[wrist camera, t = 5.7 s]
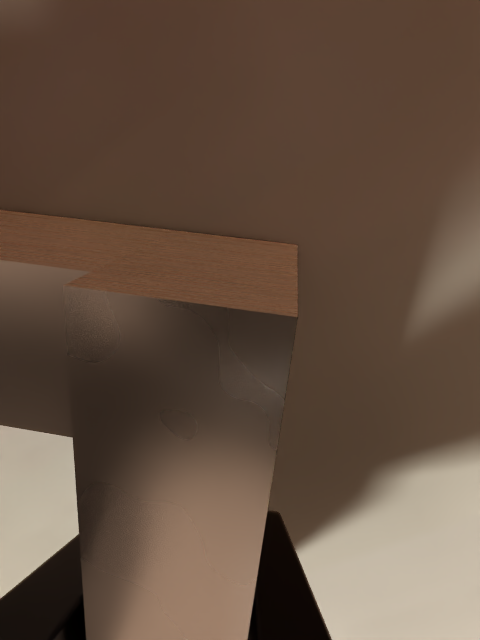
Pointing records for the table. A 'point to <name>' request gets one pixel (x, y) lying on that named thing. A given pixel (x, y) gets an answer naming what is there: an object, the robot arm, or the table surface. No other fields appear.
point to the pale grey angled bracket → (153, 407)
